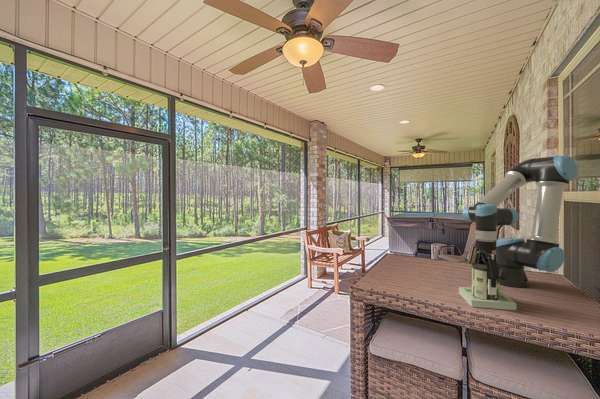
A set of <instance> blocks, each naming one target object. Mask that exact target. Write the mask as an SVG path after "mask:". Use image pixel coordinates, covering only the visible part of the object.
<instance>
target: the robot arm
mask: <svg viewBox="0 0 600 399" xmlns="http://www.w3.org/2000/svg"><path fill="white" fill-rule="evenodd" d="M578 170H579V169H578V165H577V163H576V160H574V159H573V157H571V156H569V155H553V156H545V157H536V158H530V159H526V160H524V161H522V162H520V163H518V164H516V165H515V166H513V167H511V168H510V169H509V170H508V171H507V172H506V173H505V175H504V177H503V178H502V179H501V180H500V181H499V182H498V183H497V184H496V185H495V186H494V187H493V188H492V189H490V190H489V191H487V193H486V194H485V195H484V196H483V197H482V198H481V199H479V200H478V202H476V203H475V204H474V205H473V206H471V205H469V206H465V207H464V208H463V210H462V212H461V217H462V218H463V220H464V221H466V222H471V223H475V232H474V235H475V251H476V252H475V256H474V260H473V264H474V263H480V264H486V267H487V271H488V274H489V277H488V294H489V295H496V294H497V279H500V285H502V286H506V287H513V288H526V287H527V288H528V287H529V279H528V276H527V272H526V271H525V267H526V268H529V269H530V268H531V269H535V270H539V271H543V272H549V273H550V272H551V273H552V272H555V271H558V269H560V268H561V267H562V266H563V264H564V262H565V257H566V255H565V251H564V249H563V248H562V247H560V243H559V242H558V241H557V239H556V238H557V234H558V227H559V220H560V213H561V208H562V202H563V201H562V200H563V195H564V194H563V192H564V189H565V188H567V187H568V186H569V185H570V182H571V181H575V179H576V178H577V177H578V172H579V171H578ZM531 182H535V184H536V186H537V187H538V192H537V199H536V204H535V211H534V217H533V225H532V230H531V231H532V232H531V235H530V236H529V237H527V238H526V239H525V238H522V237H521V238H520V237H505V238H498V239H497V236H498V231H497V226H512V225H515V224H516V223H517V222H519V218H520V215H519V213H518V211H517V210H515V209H513V208H509V207H503V208H500V207H499V206H500V205H501V204H502V203H503V202H504V201H505V200H506V199H507V198H508V197H510V196H511V195H512V194H513V193H514V192H515V191H516V190H517V189H518V188H520V187H523V186H525V185H526V184H528V183H531ZM525 240H526V241H525ZM493 251H495V254H493ZM498 267H500V277H499V272H498Z"/></svg>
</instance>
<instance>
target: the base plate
mask: <svg viewBox="0 0 600 399" xmlns="http://www.w3.org/2000/svg"><path fill="white" fill-rule="evenodd" d="M458 294H459V295H460V296H461V297H462V298H463V299H464V301H465V302H467V303H468V305H470V307H472V308H481V309H482V308H483V309H495V310H496V309H497V310H507V311H517V302H515V301H514V300H513V299H511V298H510V297H509V296H507V295H506V294H505V293H503V292H502V291H500V293H499V296H500V297H499V299H500V301H494V300H480V299H475V298H473V297H472V287H467V286H466V287H465V286H464V287H463V286H459V287H458Z"/></svg>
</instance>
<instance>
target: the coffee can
mask: <svg viewBox="0 0 600 399" xmlns="http://www.w3.org/2000/svg"><path fill="white" fill-rule="evenodd" d="M498 272H499V277H500V267H498ZM488 277H489V274H488V271H487V267H486V264H480V263H474V262H473V263H472V264H471V288H472V297H473V298H475V299H480V300H494V301H500V299H499V297H500V296H499V293H500V292H501V290H500V285H501V284H500V279H497V294H496V295H489V294H488Z"/></svg>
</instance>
